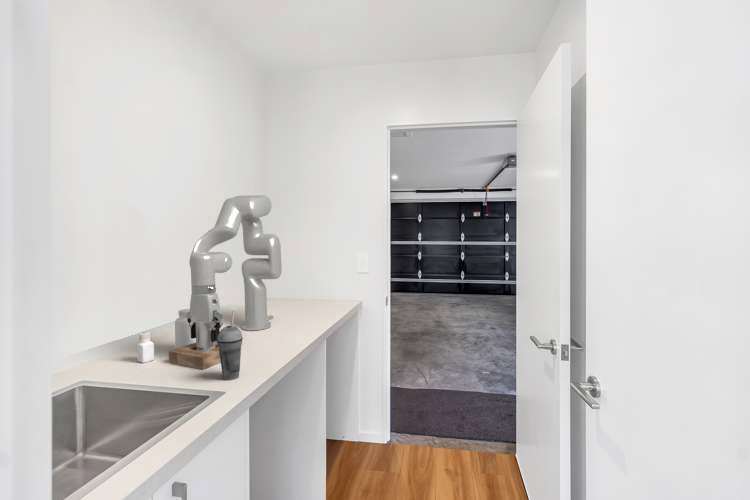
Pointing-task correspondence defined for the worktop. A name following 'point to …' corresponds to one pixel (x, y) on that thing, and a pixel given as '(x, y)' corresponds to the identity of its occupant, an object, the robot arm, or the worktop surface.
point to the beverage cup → (230, 350)
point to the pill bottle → (183, 330)
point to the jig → (195, 356)
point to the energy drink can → (203, 336)
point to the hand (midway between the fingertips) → (205, 339)
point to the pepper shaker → (145, 348)
